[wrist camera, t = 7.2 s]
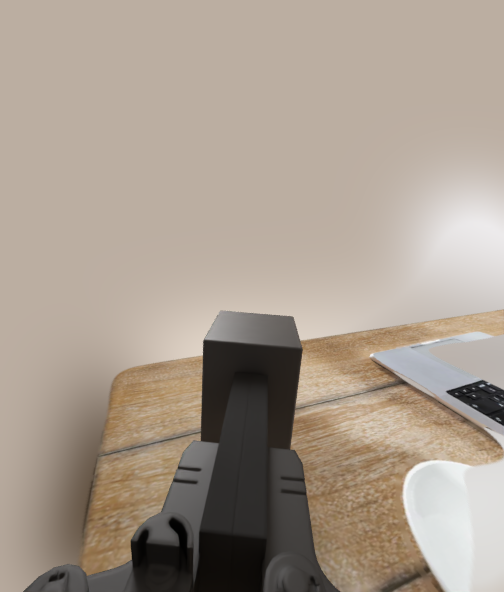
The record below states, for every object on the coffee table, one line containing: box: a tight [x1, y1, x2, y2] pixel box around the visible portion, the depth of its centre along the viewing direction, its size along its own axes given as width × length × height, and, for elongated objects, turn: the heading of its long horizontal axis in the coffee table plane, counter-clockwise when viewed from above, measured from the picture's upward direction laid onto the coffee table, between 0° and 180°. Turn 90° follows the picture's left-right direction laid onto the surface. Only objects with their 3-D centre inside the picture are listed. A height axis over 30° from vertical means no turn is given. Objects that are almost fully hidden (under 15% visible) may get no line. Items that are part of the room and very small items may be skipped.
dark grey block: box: [201, 311, 303, 449], centre depth 16 cm, size 4×4×12 cm
